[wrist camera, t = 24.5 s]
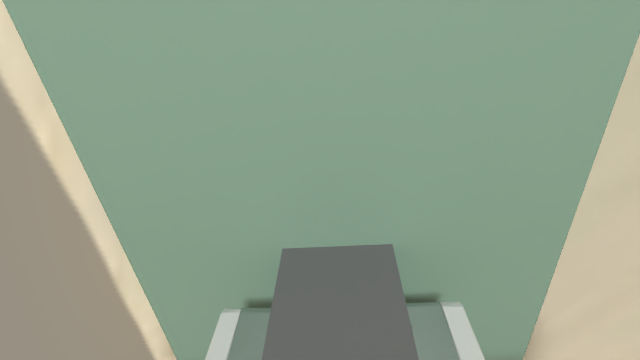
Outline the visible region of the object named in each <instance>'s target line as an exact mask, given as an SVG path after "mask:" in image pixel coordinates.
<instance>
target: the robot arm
mask: <svg viewBox="0 0 640 360" xmlns="http://www.w3.org/2000/svg"><path fill="white" fill-rule="evenodd" d="M406 306H407V310H408V314H409V319H410V323H411V327H412V332H413V336H414V340H415V345H416V349H417V353H418V358H419V360H485V358H484V356H483V353H482V351H481V349H480V346H479V344H478V341H477V339H476V336H475V334H474V332H473V329H472V327H471V324H470V322H469V319H468V317H467V315H466V312H465V310H464V307H463V305H462V304H461V303H460V302H439V303H438V302H426V303H406ZM270 312H271V308H224V310H223V311H222V313H221V314H220V317H219V320H218V323H217V326H216V329H215V331H214V334H213V337H212V340H211V343H210V346H209V349H208V352H207V355H206V358H205V360H261V359H262V354H263V349H264V343H265V338H266V333H267V327H268V322H269V317H270Z"/></svg>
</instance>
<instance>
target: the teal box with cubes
mask: <svg viewBox="0 0 640 360" xmlns="http://www.w3.org/2000/svg"><path fill="white" fill-rule="evenodd" d="M3 2H4V4H5V6H6V8H7V11H8V13H9V15H10V17H11V19H12V21H13V23H14V25H15V27H16V29H17V31H18V33H19V35H20V37H21V39H22V41H23V43H24V46H25V48H26V50H27V52H28V54H29V56H30V58H31V60H32V62H33V64H34V66H35V68H36V70H37V72H38V74H39V76H40V78H41V80H42V83H43V85H44V87H45V89H46V91H47V93H48V95H49V97H50V99H51V101H52V103H53V105H54V107H55V109H56V111H57V113H58V115H59V118H60V120H61V122H62V124H63V126H64V128H65V130H66V132H67V134H68V136H69V138H70V140H71V142H72V144H73V146H74V148H75V150H76V153H77V155H78V157H79V159H80V161H81V163H82V165H83V167H84V169H85V171H86V173H87V175H88V177H89V179H90V181H91V183H92V185H93V188H94V190H95V192H96V194H97V196H98V198H99V200H100V202H101V204H102V206H103V208H104V210H105V212H106V214H107V216H108V218H109V220H110V222H111V225H112V227H113V229H114V231H115V233H116V235H117V237H118V239H119V241H120V243H121V245H122V247H123V249H124V251H125V253H126V255H127V257H128V260H129V262H130V264H131V266H132V268H133V270H134V272H135V274H136V276H137V278H138V280H139V282H140V284H141V286H142V288H143V290H144V292H145V295H146V297H147V299H148V301H149V303H150V305H151V307H152V309H153V311H154V313H155V315H156V317H157V319H158V321H159V323H160V325H161V327H162V329H163V332H164V334H165V336H166V338H167V340H168V342H169V344H170V346H171V348H172V350H173V352H174V354H175V356H176V358H177V360H205V358H206V355H207V352H208V349H209V346H210V343H211V340H212V337H213V334H214V331H215V329H216V326H217V323H218V320H219V317H220V314H221V313H222V311H223V310H224V308H271V312H270V317H269V322H268V327H267V333H266V338H265V343H264V349H263V354H262V359H261V360H419V358H418V353H417V349H416V345H415V340H414V336H413V332H412V327H411V323H410V319H409V314H408V310H407V306H406V303H426V302H438V303H439V302H460V303H461V304H462V305H463V307H464V310H465V312H466V315H467V317H468V319H469V322H470V324H471V327H472V329H473V332H474V334H475V336H476V339H477V341H478V344H479V346H480V349H481V351H482V353H483V356H484V358H485V360H523V357H524V355H525V352H526V349H527V346H528V344H529V341H530V338H531V335H532V332H533V330H534V327H535V324H536V321H537V318H538V316H539V313H540V310H541V307H542V304H543V302H544V299H545V296H546V293H547V291H548V288H549V285H550V282H551V279H552V277H553V274H554V271H555V268H556V265H557V263H558V260H559V257H560V254H561V251H562V249H563V246H564V243H565V240H566V238H567V235H568V232H569V229H570V226H571V224H572V221H573V218H574V215H575V212H576V210H577V207H578V204H579V201H580V198H581V196H582V193H583V190H584V187H585V184H586V182H587V179H588V176H589V173H590V171H591V168H592V165H593V162H594V159H595V157H596V154H597V151H598V148H599V145H600V143H601V140H602V137H603V134H604V131H605V129H606V126H607V123H608V120H609V118H610V115H611V112H612V109H613V106H614V104H615V101H616V98H617V95H618V92H619V90H620V87H621V84H622V81H623V78H624V76H625V73H626V70H627V67H628V65H629V62H630V59H631V56H632V53H633V51H634V48H635V45H636V42H637V39H638V37H639V34H640V0H3Z"/></svg>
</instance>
